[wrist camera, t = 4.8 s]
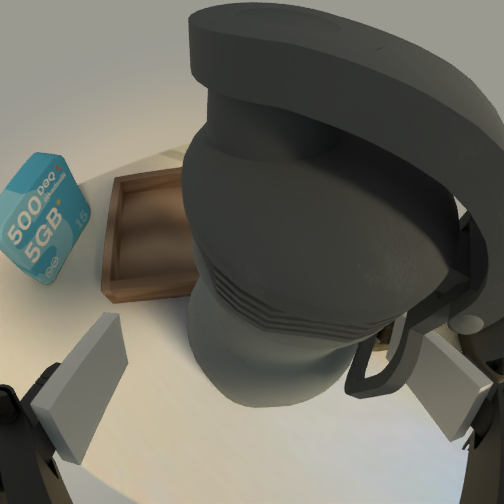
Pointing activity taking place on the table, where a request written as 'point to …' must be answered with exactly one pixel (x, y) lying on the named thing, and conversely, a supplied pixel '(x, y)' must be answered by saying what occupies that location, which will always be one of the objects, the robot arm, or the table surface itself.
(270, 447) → the table surface
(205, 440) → the table surface
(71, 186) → the data package
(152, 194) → the walnut tray
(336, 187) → the water bottle
